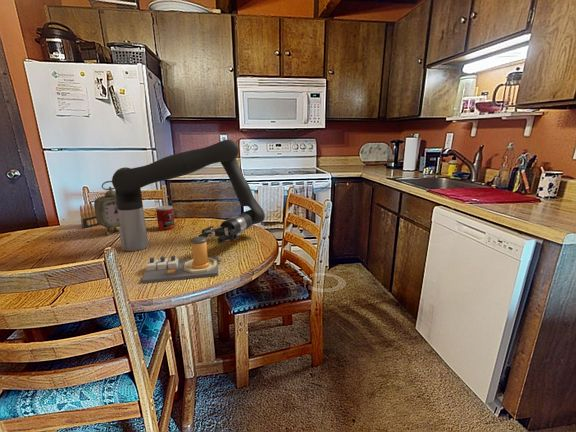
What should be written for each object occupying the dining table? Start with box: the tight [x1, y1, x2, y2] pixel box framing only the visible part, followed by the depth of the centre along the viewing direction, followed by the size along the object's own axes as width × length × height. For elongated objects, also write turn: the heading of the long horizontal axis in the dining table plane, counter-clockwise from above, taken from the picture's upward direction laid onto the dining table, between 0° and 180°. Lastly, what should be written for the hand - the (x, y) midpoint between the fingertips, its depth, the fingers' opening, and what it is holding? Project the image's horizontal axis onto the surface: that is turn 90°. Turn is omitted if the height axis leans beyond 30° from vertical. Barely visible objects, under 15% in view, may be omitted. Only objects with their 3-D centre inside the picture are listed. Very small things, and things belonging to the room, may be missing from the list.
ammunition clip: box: [79, 203, 101, 229], centre depth 153 cm, size 11×2×12 cm, turn 152°
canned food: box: [155, 205, 176, 231], centre depth 149 cm, size 8×8×11 cm
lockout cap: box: [190, 236, 210, 269], centre depth 104 cm, size 6×6×10 cm
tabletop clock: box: [93, 180, 120, 236], centre depth 142 cm, size 14×9×25 cm, turn 143°
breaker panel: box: [141, 255, 219, 284], centre depth 104 cm, size 24×14×4 cm, turn 102°
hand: (209, 239), depth 108 cm, fingers open, 8 cm apart
